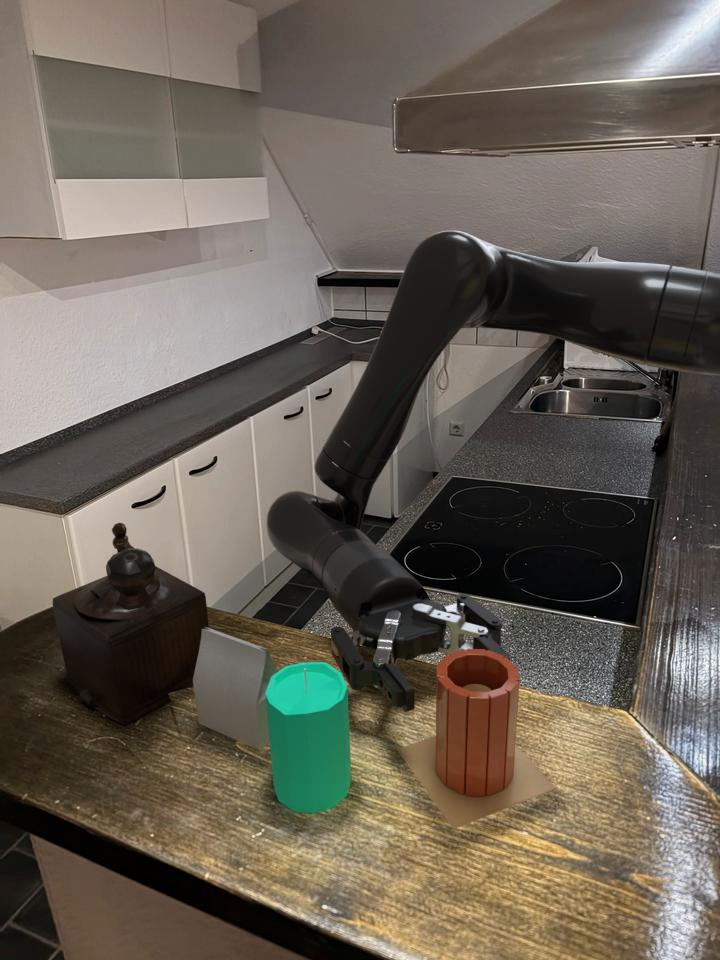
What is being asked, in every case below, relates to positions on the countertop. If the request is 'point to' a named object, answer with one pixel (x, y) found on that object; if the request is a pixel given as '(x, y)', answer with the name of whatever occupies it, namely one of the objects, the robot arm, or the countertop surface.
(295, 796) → the candle
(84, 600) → the brown coffee grinder
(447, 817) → the ring holder
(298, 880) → the countertop surface
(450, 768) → the hollow cylinder
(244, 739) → the tea bag
